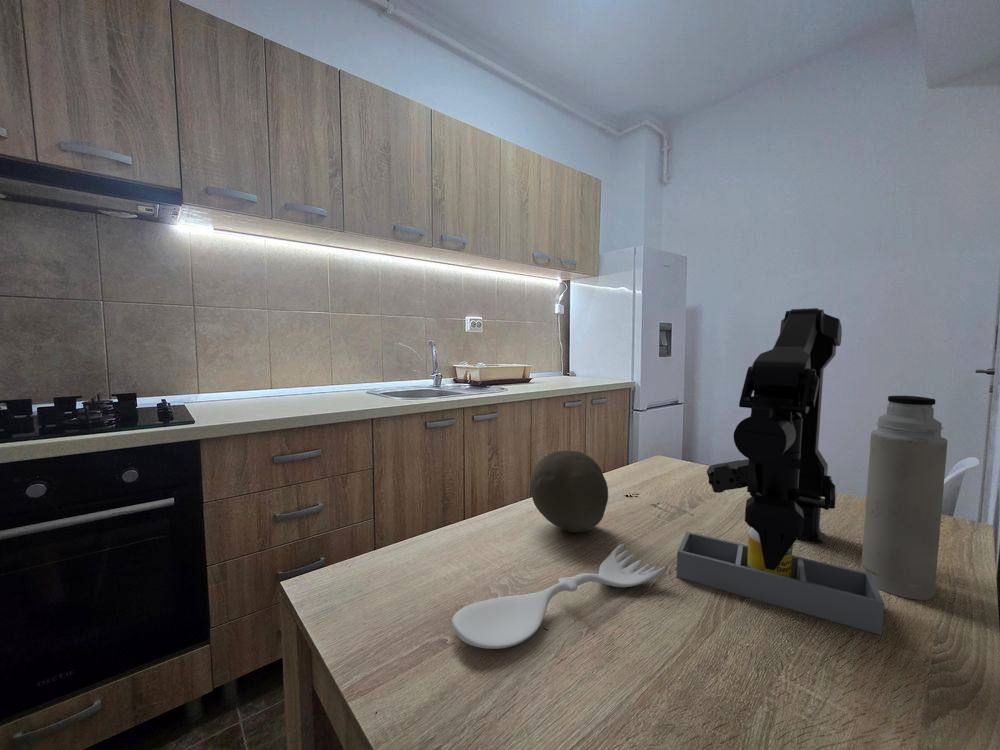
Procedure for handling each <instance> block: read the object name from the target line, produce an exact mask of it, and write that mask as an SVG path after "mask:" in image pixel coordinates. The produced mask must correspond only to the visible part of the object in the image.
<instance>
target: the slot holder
mask: <svg viewBox="0 0 1000 750" xmlns="http://www.w3.org/2000/svg"><path fill="white" fill-rule="evenodd" d="M676 551H677V554H676V555H677V557H676V578H679V579H681V580H682V579H683V580H685V581H689V582H693V583H697V584H701V585H702V586H703V585H704V586H707V587H710V588H714V589H718V590H722V591H725V592H727V593H732V594H734V595H738V596H741V597H746V598H750V599H753V600H756V601H758V602H759V601H760V602H763V603H768V604H770V605H773V606H778V607H781V608H785V609H788V610H791V611H794V612H795V611H796V612H799V613H803V614H805V615H810V616H813V617H816V618H820V619H823V620H827V621H829V622H830V621H831V622H833V623H838V624H841V625H844V626H848V627H852V628H854V629H859V630H862V631H865V632H869V633H873V634H876V635H880V636H883V635H882V634H883V623H884V622H883V621H884V612H885V611H884V610H885V608H884V607H885V603H884V600H883V598H882V595H881V592H879V588H877V587H876V584H875V582H874V580H873V578H872V575H871V573H867V572H863V571H861V570H858V569H853V568H850V567H849V568H848V567H845V566H840V565H837V564H832V563H827V562H823V561H818V560H815V559H814V560H813V559H809V558H805V557H800V556H796V555H792V564H791V565H792V567H791V578H789V577H785V576H781V575H777V574H773V573H769V572H765V571H761V570H757V569H753V568H749V567H747V562H748V544H743V543H740V542H735V541H731V540H725V539H721V538H717V537H712V536H709V535H708V536H707V535H703V534H700V533H694V532H690V531H686V532H685V534H684V536H683V538H682V540H681V543H680V545H679V548H678V549H677V550H676Z"/></svg>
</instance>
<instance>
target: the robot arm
mask: <svg viewBox="0 0 1000 750" xmlns="http://www.w3.org/2000/svg"><path fill="white" fill-rule="evenodd" d="M779 329H780V330H779V335H778V337H777V339H776V341H775V344H774V346H773V348H772V349H769V350H767V351H764V352H761V353H759V354H758V356H757V357H756V359H754V361H753V362H752V365H751V366H748V367H747V370H746V375H745V379H744V382H743V386H742V391H741V395H740V398H739V403H738V407H739V408H744V409H745V408H747V409H751V410H750V415H749V416H748V417H746V418H744V419H742V420H741V421H740V422H739V423H738V424H737V425H736V427H735V430H734V431H733V440H734V445H735V447H736V449H737V450H738V452H739V453H741V455H743V457H744V458H745V457H746V459H741V460H740V459H739V460H733V461H726V462H722V463H716V464H711V465H710V466H708V468H707V470H706V475H707V477H708V484H709V485H710V486H711V489H712V492H713V493H715V494H716V493H724V492H725V491H729V490H737V489H743V488H746V492H747V493H749V495H750V496H751V497H749V498H748V499H746V503H745V511H744V512H745V514H744V522H745V523H746V525H747V526H748V527H750V528H753V529H754V530H756V531H757V532H758V534H759V538H760V543H761V548H762V553H763V559H764V564H765V568H766V569H769V570H775V569H776V568H777V566H778V565H779V563H780V562H781V560H782V559H783V558H784V556H785V555H786V553H787V552H788V550H789V549H790V547H791V546H792V545H794V543H795V542H797V539H800V540H805V541H809V542H815V543H818V544H819V543H820V544H823V543H824V537H823V533H822V531H821V528H820V527H821V511H822V510H821V509H823V510H827V511H829V510H830V509H833V510H834V509H835V508H836V499H837V498H836V494H837V493H836V485H835V484H834V483H833V480H832V476H831V475H828V473H829V472H828V470H829V469H828V468H829V467H828V466H829V465H828V463H827V461H826V459H825V458H824V457H823V455H822V453H821V451H820V450H819V441H820V440H819V439H820V438H819V437H820V429H821V428H820V427H821V426H820V425H821V412H822V397H823V396H822V395H823V394H822V393H823V381H824V380H823V379H824V370H825V368H826V367H827V366H828V365H829V364H830V362H831V361H832V360H833V359H834V358H835V357H836V353H837V347H840V346H841V344H842V336H843V334H842V333H843V332H842V331H843V330H842V329H843V328H842V324H841V320H840V319H839V318H838V317H835V316H832V315H829V314H827V313H825V311H824V309H819V308H817V307H813V308H794V309H793V308H791V309H790V310H786V312H785V315H784V318H783V319H782V320H781V322H780V328H779Z"/></svg>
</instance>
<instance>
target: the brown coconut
mask: <svg viewBox="0 0 1000 750" xmlns="http://www.w3.org/2000/svg"><path fill="white" fill-rule="evenodd" d="M529 490H530V494H531V498H532V501H533V504H534V506H535V508H536V509H537V511H538V512H539V513H540V514H541V515H542V517H543V518H545V520H547V521H548V522H549V523H551V524H552V525H554V526H555V527H557V528H559V529H562V530H565V531H567V532H573V533H583V532H587V531H590V530H591V529H593V528H595V527H597V525H598V524H600V523H601V521H602V519H603V518H604V515H605V511H606V509H607V505H608V501H609V488H608V483H607V481H606V478H605V476H604V474H603V472H602V469H601V467H600V465H599V464H598V463H597V462H596V461H595V460H594V459H593V458H592V457H590V456H589V455H587V454H585V453H583V452H581V451H578V450H577V451H576V450H559V451H552V452H550V453H548V454H547V455H545V456H543V458H540V460H539V461H538V462H537V463H536V465H535V467H534V468H533V470H532V472H531V475H530V479H529Z"/></svg>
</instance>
